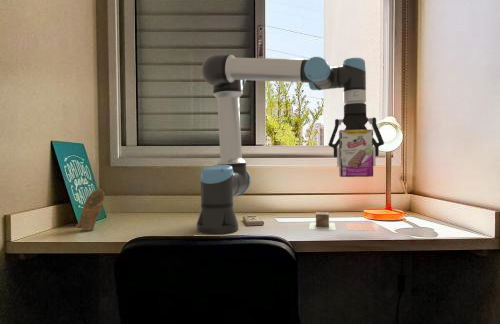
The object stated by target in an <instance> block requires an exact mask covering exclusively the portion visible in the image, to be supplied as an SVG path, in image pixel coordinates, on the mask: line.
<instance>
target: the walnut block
mask: <svg viewBox="0 0 500 324" xmlns="http://www.w3.org/2000/svg"><path fill="white" fill-rule="evenodd" d="M315 223H316V227H329V223H330V213H329V212H322V211H320V212H319V211H318V212H317V211H316V212H315Z"/></svg>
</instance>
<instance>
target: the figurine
mask: <svg viewBox="0 0 500 324" xmlns="http://www.w3.org/2000/svg"><path fill="white" fill-rule="evenodd" d="M84 202H85V203H84V204H83V208H82V210H81V215H80V218H79V220H78V223H77V224H76V226H75V228H76V229H81V230H83V231H94V230H93V229H95V225H96V221H97V219H98V217H99V215H100V213H101V210H102V207H103V205H104V202H105V191H104V190H103V189H102V188H97V189H95V190H94V191H92V192H91V193H90V194H89V196H88V197H87V198H86V200H85V201H84Z"/></svg>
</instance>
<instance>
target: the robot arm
mask: <svg viewBox="0 0 500 324" xmlns="http://www.w3.org/2000/svg"><path fill="white" fill-rule="evenodd" d="M366 71H367V70H366V61H365V60H364V59H363V58H361V57H349V58H346V59H344V60H343V62H342V65H340V66H333V67H332V66H330V63H329V62H328V60H326V59H325V58H323V57H321V56H313V57H310V58H309V59H307V58H305V59H303V58H262V57H261V58H259V57H258V58H257V57H235V55H234V54H224V53H223V54H222V53H215V54H210V55H209V56H208V57H207V58H205V60H204V61H203V63H202V66H201V74H202V77H203V80H205V82H206V83H208V84H209V85H210V86H212V92H213V93H212V94H213V97H215V98H216V99H217V114H218V115H217V117H218V135H219V137H218V138H219V155H220V158H219V160H218V162H217V163H216V164H213V165H208V166H207V165H206V166H205V167H203V168H202V169H200V170H201V171H200V177H199V179H200V207H201V208H200V211H199V214H198V215H199V216H198V219H197V222H196V232H198V233H200V232H202V234H207V233H210V234H211V235H214V234H215V235H219V234H220V235H221V234H230V233H234V232H237V231H238V230H239V223H238V218H237V216H236V215H237V214H236V213H235V210H234V198H235V197H239V196H240V197H241V195H243V194H245V193H246V192H248V190H249V188H250V186H251V181H252V179H251V174H250V173H249V171H248V170H247V162H246V161H245V159H243V153H242V152H243V150H242V135H241V133H242V131H241V114H240V113H241V112H240V98H241V96H242V95H243V88H244V86H245V84H246V81H260V82H282V83H283V82H285V83H287V82H288V83H290V82H291V83H304V84H305V83H306V84H308V86H309V89H310V90H312V91H322V90H323V91H324V90H332V89H333V90H334V89H341V88H342V89H343V104H344V105H343V118H342V119H340V118H339V119H338V118H335V120H334V121H335V122H334V128H333V131H332V133H331V136H330V139H329V142H328V147H331V148H333V157H334V158H336V163H337V165H336V167H337V168H339V167H340V156H339V143H340V137H339V136H338V138H337V140H336V141H335V143H333V142H334V140H335V137H336V136H337V135H336V134H337V132H338V130H339V129H338V128H339V127H340V126H341V125H342V123H343V125H344V126H345V128H344V130H368V128H367V127H366V124H367V123H369V125H371V127H372V130H373V133H374V135H375V136H376V139H377V140H378V141H377V140H376V139H375V137H373V167H376V157H379V155H380V154H379V148H380V147H381V146H383V145H385V141H384V140H383V136H382V135H381V132H380V129H379V127H378V125H377V118H376V117H375V116H374V117H372V118H371V117H370V118H369V117H368V116H367V104H366V102H367V92H366V90H367V86H366V85H367V75H366V73H367V72H366ZM210 234H209V235H210Z"/></svg>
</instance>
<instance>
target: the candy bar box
mask: <svg viewBox="0 0 500 324" xmlns="http://www.w3.org/2000/svg"><path fill="white" fill-rule="evenodd" d="M339 137H340V143H339V145H338V148H339V156H340V167H338V168H339V169H338V171H339V173H338V174H339V175H338V176H339V177H340V178H361V177H362V178H368V177H371V178H372V177H374V166H373V147H374V145H373V138H374V129H367V130H362V129H361V130H345V129H340V130H339V131H338V138H339Z"/></svg>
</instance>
